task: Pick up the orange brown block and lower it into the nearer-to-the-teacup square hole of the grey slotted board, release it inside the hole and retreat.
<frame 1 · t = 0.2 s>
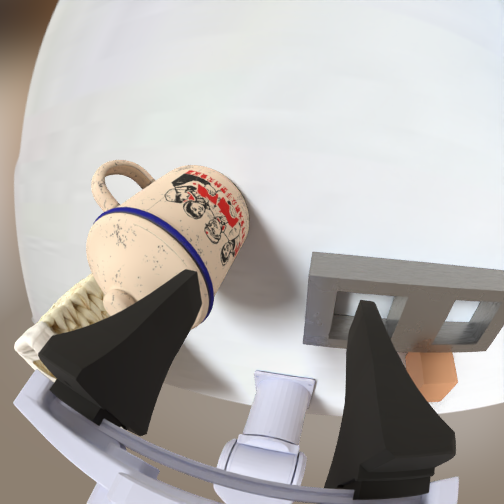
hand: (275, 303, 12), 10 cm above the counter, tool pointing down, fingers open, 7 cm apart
grey slotted board: (415, 299, 21), on the counter
storage basket: (110, 314, 38), on the counter
orange brown block: (426, 346, 24), on the counter
teacup with lid: (190, 198, 22), on the counter
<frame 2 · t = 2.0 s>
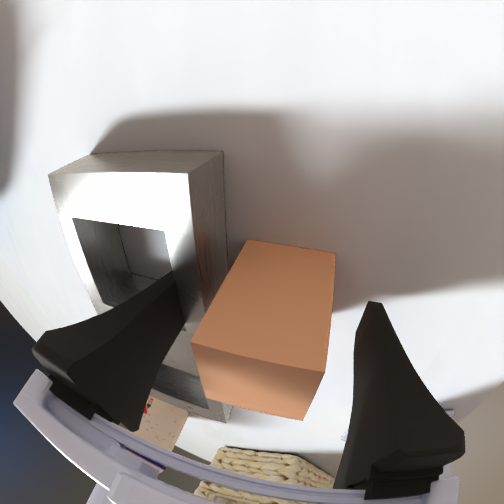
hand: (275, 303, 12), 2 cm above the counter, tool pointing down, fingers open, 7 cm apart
grey slotted board: (173, 308, 17), on the counter
storage basket: (283, 464, 37), on the counter
orange brown block: (287, 280, 13), on the counter
teacup with lid: (152, 396, 30), on the counter
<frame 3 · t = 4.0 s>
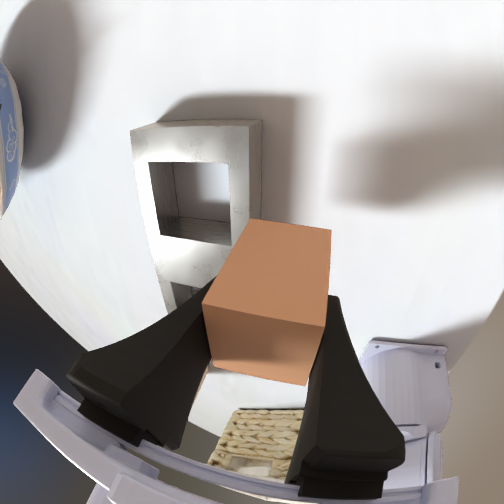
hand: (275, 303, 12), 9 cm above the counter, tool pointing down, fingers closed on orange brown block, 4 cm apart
ramen bowl: (13, 121, 21), on the counter
grey slotted board: (212, 244, 22), on the counter
storage basket: (294, 429, 42), on the counter
orange brown block: (287, 257, 14), point 6 cm above the counter, touching gripper
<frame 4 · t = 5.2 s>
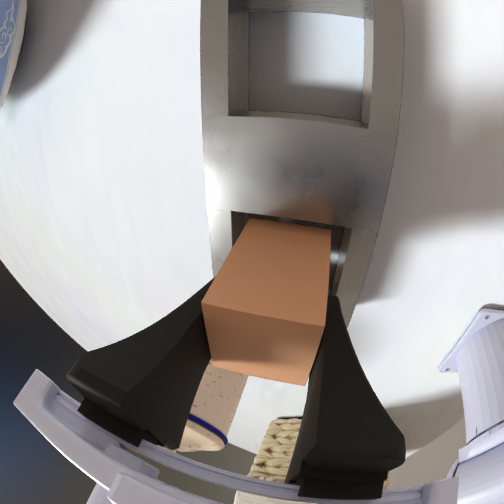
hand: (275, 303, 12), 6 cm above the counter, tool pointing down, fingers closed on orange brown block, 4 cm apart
ramen bowl: (11, 44, 12), on the counter
grey slotted board: (301, 155, 13), on the counter
storage basket: (339, 437, 33), on the counter
orange brown block: (287, 257, 14), point 2 cm above the counter, touching gripper
teacup with lid: (201, 351, 27), on the counter
when the fingers open (4 cm above the counter, at t = 6.4 s): orange brown block stays where it is, resting in grey slotted board.
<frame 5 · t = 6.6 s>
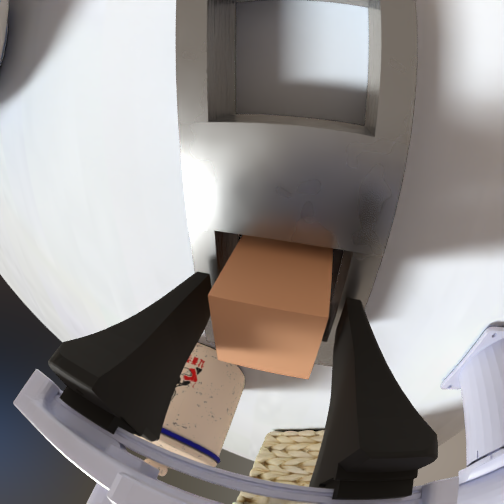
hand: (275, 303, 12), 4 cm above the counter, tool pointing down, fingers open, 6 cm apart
grey slotted board: (296, 164, 12), on the counter
storage basket: (338, 448, 31), on the counter
orange brown block: (290, 253, 14), resting in grey slotted board
teacup with lid: (193, 365, 25), on the counter
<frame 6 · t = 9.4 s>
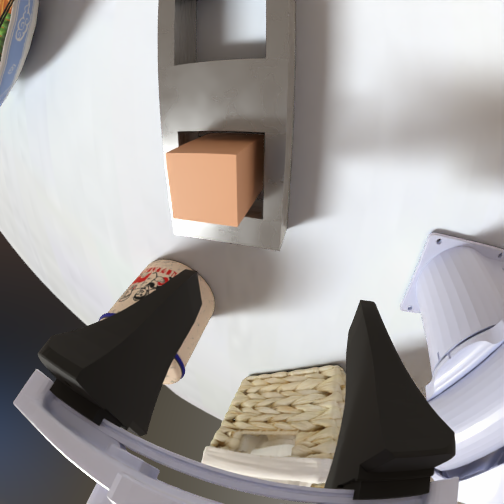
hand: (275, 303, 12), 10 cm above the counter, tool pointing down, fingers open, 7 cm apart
ramen bowl: (23, 35, 14), on the counter
grey slotted board: (234, 93, 16), on the counter
storage basket: (318, 403, 36), on the counter
orange brown block: (236, 159, 19), resting in grey slotted board
teacup with lid: (171, 292, 29), on the counter
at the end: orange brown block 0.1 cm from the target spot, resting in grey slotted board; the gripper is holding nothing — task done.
